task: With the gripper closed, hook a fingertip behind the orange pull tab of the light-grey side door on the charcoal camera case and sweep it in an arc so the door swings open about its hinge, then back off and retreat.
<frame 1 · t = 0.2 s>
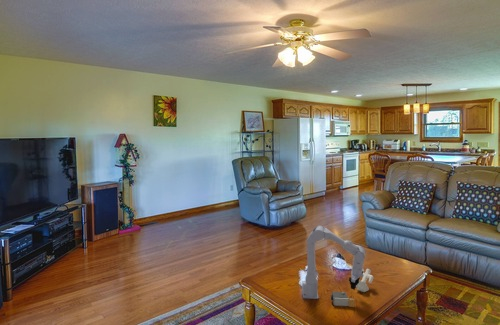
hand: (354, 285, 182), 9 cm above the table, fingers open, 7 cm apart
door: (343, 302, 175), point 2 cm above the table, hinge at 0.0°
figurine: (359, 289, 190), point 2 cm above the table
case: (339, 302, 179), on the table
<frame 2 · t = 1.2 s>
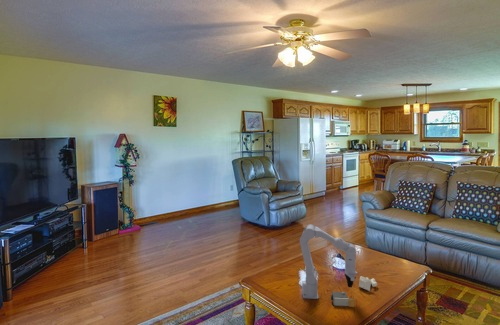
hand: (349, 286, 179), 9 cm above the table, fingers closed
figurine: (362, 284, 191), point 4 cm above the table
everything else where it was.
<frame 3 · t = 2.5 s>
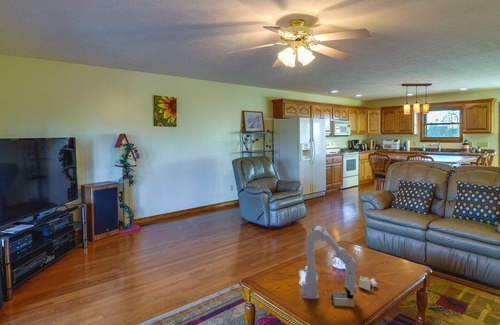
hand: (349, 300, 178), 2 cm above the table, fingers closed
nothing on the table moved.
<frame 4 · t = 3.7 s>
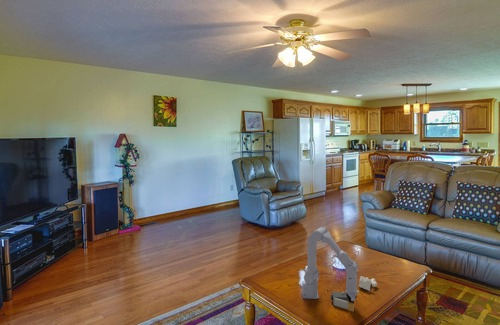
hand: (351, 306, 172), 2 cm above the table, fingers closed
door: (343, 304, 172), point 2 cm above the table, hinge at 26.0°, touching gripper
everything else where it was.
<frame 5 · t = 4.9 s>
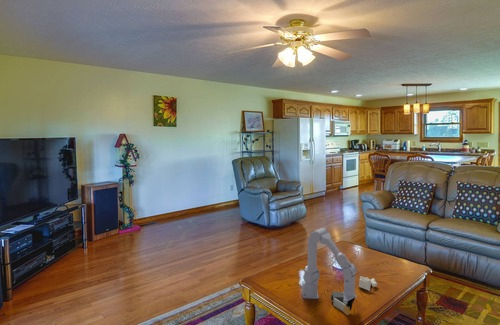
hand: (349, 309, 168), 2 cm above the table, fingers closed
door: (340, 306, 171), point 2 cm above the table, hinge at 53.3°, touching gripper
everything else where it was.
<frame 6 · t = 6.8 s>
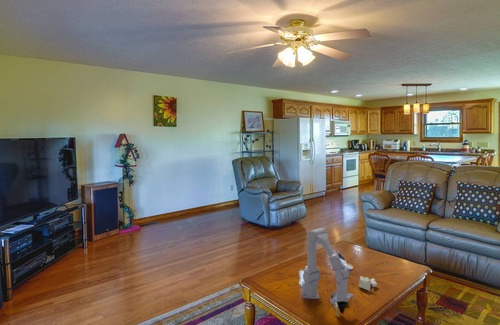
hand: (341, 312, 166), 2 cm above the table, fingers closed
door: (335, 306, 170), point 2 cm above the table, hinge at 86.3°, touching gripper
everything else where it was.
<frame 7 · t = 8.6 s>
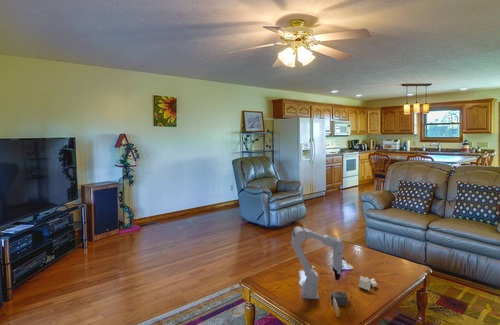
hand: (337, 279, 187), 9 cm above the table, fingers closed
door: (335, 306, 170), point 2 cm above the table, hinge at 86.3°
everything else where it was.
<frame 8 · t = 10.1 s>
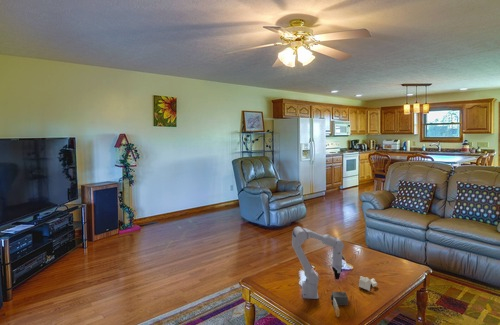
hand: (336, 278, 188), 9 cm above the table, fingers closed
nothing on the table moved.
at the end: door at +86° (first picture: +0°) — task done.
